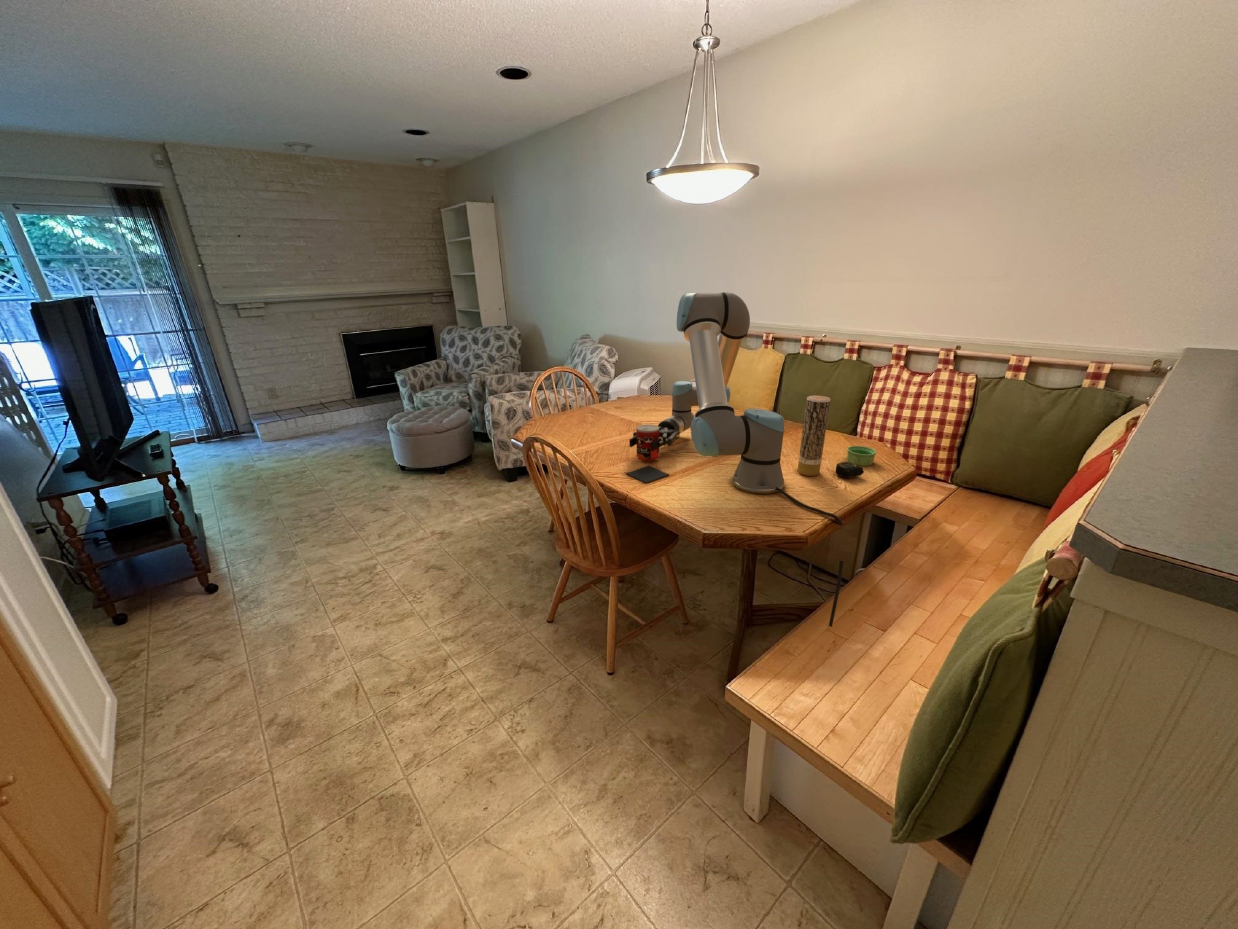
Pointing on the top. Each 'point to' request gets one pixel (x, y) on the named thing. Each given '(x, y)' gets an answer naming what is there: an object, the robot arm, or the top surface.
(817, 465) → the paper tube
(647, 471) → the coaster
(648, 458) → the canned food
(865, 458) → the ramekin
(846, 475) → the tape measure
